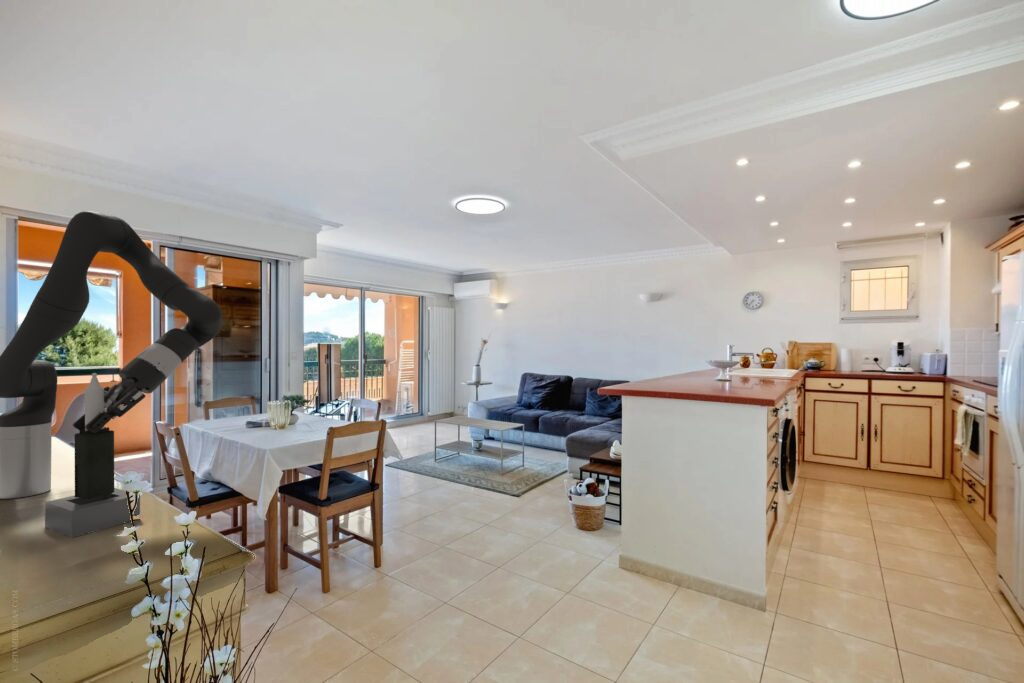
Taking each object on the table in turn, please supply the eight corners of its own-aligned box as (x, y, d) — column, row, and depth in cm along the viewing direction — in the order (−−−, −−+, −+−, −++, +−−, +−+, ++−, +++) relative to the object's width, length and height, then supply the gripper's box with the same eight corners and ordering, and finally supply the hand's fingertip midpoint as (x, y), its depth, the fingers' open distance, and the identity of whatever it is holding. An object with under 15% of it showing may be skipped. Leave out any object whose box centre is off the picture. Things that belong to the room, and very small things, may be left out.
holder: (44, 526, 93) (45, 501, 93) (112, 510, 103) (112, 487, 103) (71, 537, 88) (71, 511, 88) (139, 518, 97) (140, 494, 97)
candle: (117, 491, 97) (116, 372, 98) (88, 499, 92) (87, 373, 93) (101, 489, 99) (100, 372, 99) (71, 497, 94) (71, 373, 94)
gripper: (121, 356, 106) (50, 416, 95) (154, 356, 99) (82, 420, 88) (148, 378, 111) (83, 437, 100) (181, 379, 104) (116, 443, 93)
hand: (83, 429), depth 94 cm, fingers closed on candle, 5 cm apart
